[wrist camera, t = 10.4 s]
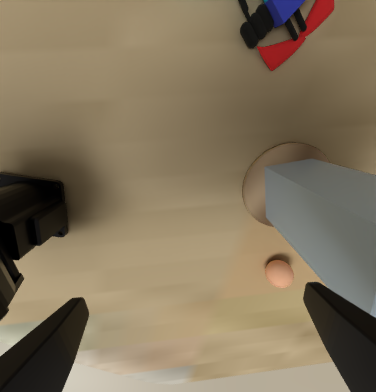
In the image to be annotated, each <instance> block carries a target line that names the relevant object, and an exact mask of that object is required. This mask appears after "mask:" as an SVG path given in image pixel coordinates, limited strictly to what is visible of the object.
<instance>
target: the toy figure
mask: <svg viewBox="0 0 376 392" xmlns="http://www.w3.org/2000/svg"><path fill="white" fill-rule="evenodd" d="M238 1H239V3H240V6H241V8H242V11H243V13H244V15H245V17H246V19H247V21H248V22H245V23H243V24H242V26H241V28H240V33H241V35H242V37H243V39H244V41H245V43H246V44H247V46H248V47H249V48H250V49H251V48H254V47H255V46H256V45H257V43H258V39H259V40H260V39H263V38H264V37H265V36H266V33H267V32H269V31H271V30H272V28H273V26H274V27H275V28H276V27H278V26H280V25H282V24H284V23H285V25H286V27H287V29H288V31H289V33H290V35H291V37H292V39H290V40H287V41H284V42H281V43H278V44H275V45H270V46H266V47H259V46H257V49H258V50H259V52H260V54H261V56H262V58H263V60H264V61H265V63H266V64H267V66H268V67H269V69H270V70H271V71H273V70H274V69H276V68H277V67H278V66H279V65H281V64H282V63H283V62H284V61H285V60H286V59H288V58H289V57H290V56H291V55H292V54H293V53H294V52H295V51H296V50H297V49H298V48H299V47H300V46H301V44H302V43H303V42H304V40H305V39H306V38H305V37H306V36H308V35H309V34H310V33H312V32H313V31H314V30H315V29H316V28H317V27H318V26H319V25H320V24H321V23H322V22H323V21H324V20H325V19H326V18H327V17H328V16H329V15H330V14H331V13H332V11H333V10H334V0H316V1H315V3H314V5H313V7H312V9H311V11H310V13H309V15H308V17H307V19H306V21H304V19H303V17H302V15H301V13H300V10H299V7H300V6H301V4H302V3H303V2H304V1H305V0H263V1H264V4H261V5H259V6H258V8H257V10H256V13H253V14H252V15H251V17H250V15H249V13H248V6H247V3H246V1H245V0H238ZM292 14H293V15H294V17H295V19H296V21H297V23H298V25H299V27H300V29H301V31H300V34H299V37H298V35H297V32H296V30H295V28H294V26H293V24H292V22H291V20H290V18H289V17H290V16H291V15H292Z"/></svg>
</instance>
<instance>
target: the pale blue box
mask: <svg viewBox="0 0 376 392" xmlns="http://www.w3.org/2000/svg"><path fill="white" fill-rule="evenodd" d="M264 168H265V204H266V218H267V219H268V220H269V221H270V222H271V223H272V225H273V226H274V227H275V228H276V229H277V230H278V231H279V233H280V234H281V235H282V236H283V237H284V238H285V239H286V240H287V242H288V243H289V244H290V245H291V246H292V247H293V248H294V249H295V251H296V252H297V253H298V254H299V255H300V256H301V257H302V259H303V260H304V261H305V262H306V263H307V264H308V265H309V266H310V268H311V269H312V270H313V271H314V272H315V273H316V274H317V276H318V277H319V278H320V279H321V280H322V281H323V282H324V283H325V285H326V286H327V287H328V288H329V289H330V290H332V291H334V292H335V293H337V294H338V295H340V296H342V297H343V298H345V299H346V300H348V301H350V302H351V303H353V304H354V305H356V306H358V307H359V308H361V309H362V310H364V311H366V312H367V313H369V314H370V315H372V316H374V317H375V318H376V175H374V174H370V173H366V172H362V171H358V170H354V169H350V168H347V167H343V166H339V165H335V164H331V163H327V162H323V161H320V160H316V159H307V160H301V161H295V162H289V163H283V164H277V165H272V166H266V167H264Z"/></svg>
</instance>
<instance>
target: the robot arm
mask: <svg viewBox="0 0 376 392" xmlns="http://www.w3.org/2000/svg"><path fill="white" fill-rule="evenodd" d="M0 178H1V179H0V321H1V320H2V319H3V318H4V317H5V316H6V314H7V313H8V311H9V308H8V305H9V304H10V302H11V300H12V299H13V297H14V295H15V293H16V292H17V290H18V288H19V287H20V285H21V283H22V282H23V280H24V277H23V275H22V274H21V273H19V271H18V269H17V267H16V265H15V263H14V261H13V260H19V259H20V258H22V257H23V256H24V255H25V254H27V253H28V252H29V251H30V250H32V249H33V248H34V247H35V246H40V245H42V244H43V243H44V242H45V241H47V240H48V239H49V238H50V237H52V236H55V237H64V236H65V235H66V234H67V210H66V202H65V197H64V186H63V183H62V182H61V181H58V180H51V179H44V178H36V177H29V176H22V175H15V174H8V173H0ZM56 184H57V185H58V186H59V188H58V187H57V186H56ZM60 231H61V232H62V233H61V232H60ZM303 300H304V303H305V306H306V308H307V310H308V312H309V314H310V316H311V319H312V321H313V323H314V325H315V327H316V329H317V331H318V333H319V336H320V338H321V340H322V342H323V344H324V346H325V348H326V350H327V351H328V353H329V355H330V357H331V358H332V360H333V362H334V363H335V365H336V367H337V369H338V371H339V372H340V374H341V376H342V378H343V379H344V381H345V383H346V384H347V386H348V388H349V390H350V391H351V392H376V318H375V317H374V316H372V315H370V314H369V313H367V312H366V311H364V310H362V309H361V308H359V307H358V306H356V305H354V304H353V303H351V302H350V301H348V300H346V299H345V298H343V297H342V296H340V295H338V294H337V293H335V292H334V291H332V290H330V289H329V288H327V287H325V286H324V285H322V284H321V283H319V282H308V283H307V284H306V286H305V291H304V296H303ZM88 317H89V311H88V308H87V305H86V302H85V300H84V298H83V297H78V298H72V299H70V300H69V301H68V302H67V303H65V304H64V305H63V306H62V307H60V308H59V309H58V310H57V311H56V312H54V313H53V314H52V315H51V316H49V317H48V318H47V319H46V320H45V321H43V322H42V323H41V324H40V325H38V326H37V327H36V328H35V329H33V330H32V331H31V332H30V333H29V334H27V335H26V336H25V337H24V338H22V339H21V340H20V341H19V342H18V343H16V344H15V345H14V346H13V347H11V348H10V349H9V350H8V351H7V352H5V353H4V354H3V355H2V356H0V392H62V390H63V388H64V385H65V383H66V380H67V378H68V376H69V373H70V371H71V368H72V366H73V363H74V360H75V357H76V355H77V351H78V348H79V345H80V342H81V339H82V336H83V333H84V330H85V327H86V323H87V320H88Z"/></svg>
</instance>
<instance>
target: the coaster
mask: <svg viewBox="0 0 376 392" xmlns="http://www.w3.org/2000/svg"><path fill="white" fill-rule="evenodd" d="M307 159H316V160H320V161H323V162H327V163H330V162H329V160H328V159H327V157H326V156H325V155H324V154H323V153H322V152H321V151H320V150H318V149H317V148H315V147H313V146H310V145H306V144H301V143H286V144H281V145H278V146H275V147H273V148H271V149H269V150H267V151H266V152H264V153H263V154H262V155H260V156H259V157H258V158H257V159H256V160H255V161H254V163H253V164H252V165H251V167H250V168H249V170H248V172H247V174H246V176H245V179H244V182H243V189H242V194H243V200H244V203H245V206H246V208H247V209H248V211H249V212H250V213H251V215H252V216H253V217H254V218H255V219H256V220H258V221H259V222H261V223H263V224H265V225H268V226H272V227H274V226H273V225H272V223H271V222H270V221H269V220H268V219H267V218H266V204H265V168H264V167H266V166H272V165H277V164H283V163H289V162H295V161H301V160H307Z"/></svg>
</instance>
